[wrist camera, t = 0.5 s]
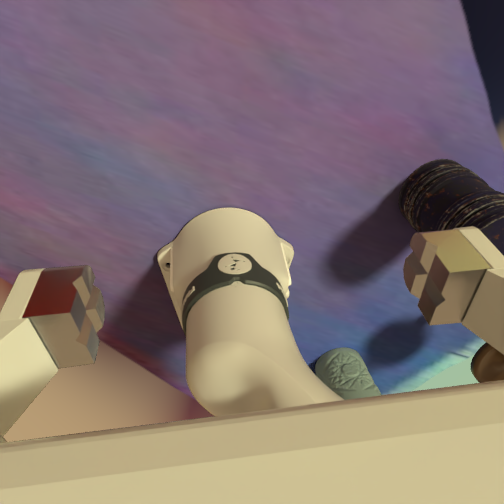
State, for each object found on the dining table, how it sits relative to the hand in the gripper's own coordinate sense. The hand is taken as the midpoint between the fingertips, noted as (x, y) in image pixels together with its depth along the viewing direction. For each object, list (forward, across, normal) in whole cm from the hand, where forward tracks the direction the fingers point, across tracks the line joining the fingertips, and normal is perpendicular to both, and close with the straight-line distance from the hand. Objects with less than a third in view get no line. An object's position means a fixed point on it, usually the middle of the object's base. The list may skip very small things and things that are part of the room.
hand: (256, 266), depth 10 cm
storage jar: (+37, +28, -23) cm, 52 cm away
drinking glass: (+33, +18, -56) cm, 67 cm away
